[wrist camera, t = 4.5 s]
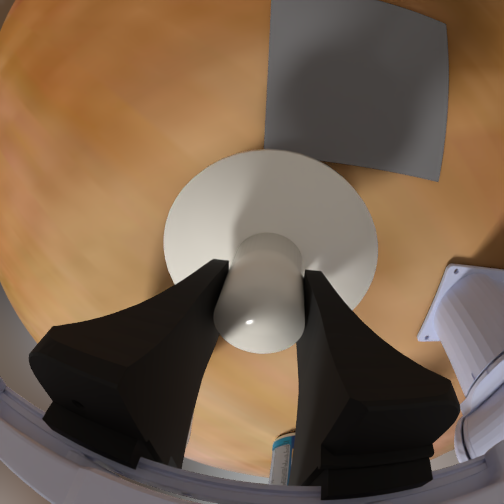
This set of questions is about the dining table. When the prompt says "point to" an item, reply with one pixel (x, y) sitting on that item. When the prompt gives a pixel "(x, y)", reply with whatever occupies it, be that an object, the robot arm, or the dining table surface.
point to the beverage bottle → (282, 459)
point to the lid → (271, 241)
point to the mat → (358, 85)
